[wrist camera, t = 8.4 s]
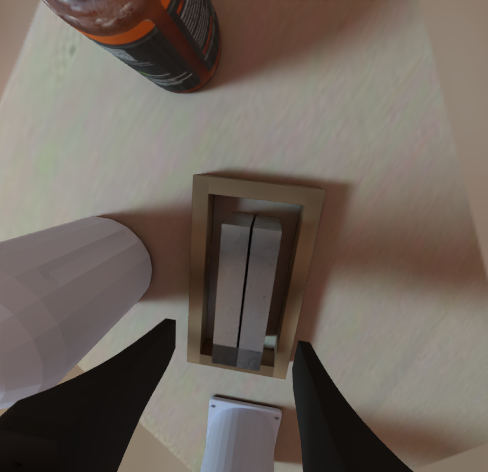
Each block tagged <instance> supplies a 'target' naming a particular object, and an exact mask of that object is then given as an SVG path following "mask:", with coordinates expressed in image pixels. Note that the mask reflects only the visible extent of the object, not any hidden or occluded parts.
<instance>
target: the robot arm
mask: <svg viewBox="0 0 488 472" xmlns="http://www.w3.org/2000/svg"><path fill="white" fill-rule="evenodd" d="M175 340H176V320H172V319H164V320H163V321H162V322H160V323H159V324H158V325H157V326H155V327H154V328H153V329H152V330H150V331H149V332H148V333H146V334H145V335H144V336H142V337H141V338H140V339H138V340H137V341H136V342H134V343H133V344H132V345H130V346H129V347H127V348H126V349H124V350H123V351H121V352H120V353H118V354H117V355H115V356H114V357H112V358H110V359H109V360H107V361H105V362H104V363H102V364H100V365H98V366H96V367H94V368H93V369H91V370H89V371H87V372H85V373H83V374H81V375H79V376H77V377H75V378H73V379H70V380H68V381H66V382H64V383H62V384H59V385H57V386H55V387H52V388H50V389H47V390H45V391H42V392H39V393H37V394H34V395H31V396H29V397H26V398H23V399H20V400H18V401H17V402H16V403H14V404H13V405H12V406H11V407H10V408H9V409H8V410H7V411H6V412H5V413H4V414H2V415H1V416H0V472H117V470H118V468H119V465H120V463H121V461H122V458H123V456H124V453H125V451H126V449H127V446H128V444H129V442H130V439H131V437H132V435H133V433H134V430H135V428H136V426H137V424H138V421H139V419H140V417H141V415H142V413H143V411H144V409H145V407H146V405H147V403H148V401H149V399H150V398H151V396H152V394H153V392H154V390H155V388H156V387H157V385H158V383H159V381H160V379H161V378H162V376H163V374H164V372H165V370H166V368H167V367H168V365H169V362H170V360H171V357H172V355H173V352H174V350H175ZM292 375H293V391H294V398H295V405H296V411H297V418H298V424H299V431H300V438H301V448H302V462H303V472H413V471H412V470H411V469H410V468H409V467H407V466H406V465H405V464H404V463H403V462H402V461H401V460H400V459H399V458H398V457H397V456H396V455H395V454H394V453H393V452H392V451H391V450H390V449H389V448H388V447H387V446H386V445H385V444H384V443H383V442H382V441H381V440H380V439H379V438H378V437H377V436H376V435H375V434H374V433H373V432H372V431H371V429H370V428H369V427H368V426H367V425H366V424H365V423H364V422H363V421H362V419H361V418H360V417H359V416H358V415H357V414H356V412H355V411H354V410H353V408H352V407H351V406H350V405H349V403H348V402H347V401H346V399H345V398H344V397H343V395H342V394H341V393H340V391H339V390H338V388H337V387H336V385H335V384H334V382H333V381H332V379H331V378H330V376H329V375H328V373H327V372H326V370H325V368H324V367H323V365H322V363H321V362H320V360H319V358H318V356H317V355H316V353H315V351H314V349H313V347H312V346H311V344H310V343H309V342H304V341H298V345H297V349H296V354H295V358H294V363H293V367H292ZM281 417H282V411H281V410H280V409H277V408H272V407H267V406H262V405H256V404H251V403H246V402H241V401H235V400H230V399H225V398H220V397H211V398H210V402H209V414H208V427H207V440H206V448H205V453H204V457H203V462H202V466H201V470H200V472H274V449H275V444H276V440H277V435H278V431H279V426H280V422H281Z"/></svg>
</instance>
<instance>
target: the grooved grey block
mask: <svg viewBox="0 0 488 472" xmlns="http://www.w3.org/2000/svg"><path fill="white" fill-rule="evenodd" d="M253 221H254V215H253V214H245V213H237V212H231V213H230V214H229V216H228V217H227V218H226V219H225V220H224V222H223V223H222V228H221V242H220V255H219V269H218V282H217V296H216V309H215V323H214V337H213V350H212V363H216V364H221V365H227V366H233V367H238V368H244V369H249V370H255V371H260V365H261V359H262V352H263V346H264V340H265V334H266V328H267V322H268V315H269V309H270V303H271V297H272V291H273V285H274V278H275V272H276V266H277V260H278V254H279V248H280V241H281V235H282V228H281V222H280V218H277V217H269V216H261V215H257V216H256V219H255V223H254V227H253ZM252 230H253V233H252ZM251 238H252V242H251ZM250 246H251V250H250ZM249 255H250V259H249ZM248 263H249V267H248ZM247 272H248V275H247ZM246 280H247V284H246ZM245 289H246V292H245ZM244 297H245V300H244ZM243 305H244V309H243ZM242 314H243V316H242Z"/></svg>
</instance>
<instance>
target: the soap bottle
mask: <svg viewBox="0 0 488 472" xmlns="http://www.w3.org/2000/svg"><path fill="white" fill-rule="evenodd" d="M151 275H152V266H151V260H150V255H149V253H148V251H147V250H146V248H145V246H144V244H143V242H142V241H141V239H140V238H138V237H137V236H136V235H135V234H134V233H133V232H132V231H131V230H130V229H129V228H128V227H126V226H124V225H122V224H120V223H118V222H116V221H114V220H112V219H107V218H100V217H94V216H93V217H89V218H84V219H80V220H76V221H73V222H69V223H66V224H62V225H59V226H55V227H52V228H48V229H45V230H41V231H38V232H34V233H31V234H27V235H24V236H20V237H17V238H13V239H10V240H6V241H3V242H0V409H3V408H10V407H11V406H12V405H13V404H14V403H16V402H17V401H18V400H20V399H23V398H26V397H29V396H31V395H34V394H37V393H39V392H42V391H45V390H47V389H50V388H52V387H54V386H56V385H57V384H58V383H59V382H60V381H61V380H62V379H63V378H64V377H65V376H66V375H67V373H68V372H69V371H70V370H71V369H72V368H73V367H74V366H75V365H76V364H77V363H78V362H79V361H80V360H81V359H82V358H83V357H84V356H85V355H86V354H87V353H88V352H89V351H90V350H91V349H92V348H93V347H94V346H95V345H96V344H97V343H98V342H99V341H100V340H101V339H102V338H103V336H104V335H105V334H106V333H107V332H108V331H109V330H110V329H111V328H112V327H113V326H114V325H115V324H116V323H117V322H118V321H119V320H120V319H121V318H122V317H123V316H124V315H125V314H126V313H127V312H128V311H129V310H130V309H131V308H132V307H133V306H134V305H135V304H136V303H137V302H138V301H139V299H140V298H141V297H142V296H143V295H144V293H145V292H146V290H147V289H148V288H149V286H150V281H151Z"/></svg>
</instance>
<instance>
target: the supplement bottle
mask: <svg viewBox="0 0 488 472" xmlns="http://www.w3.org/2000/svg"><path fill="white" fill-rule="evenodd" d="M43 2H44V3H45V4H46V5H47V6H48V7H49V8H50V9H51V10H52V11H53V12H54V13H56V14H57V15H58V16H59V17H60V18H62V19H63V20H64V21H65V22H67V23H68V24H70V25H71V26H72V27H74V28H75V29H77V30H78V31H80V32H81V33H83V34H84V35H85V36H86V37H88V38H89V39H91V40H92V41H94V42H95V43H96V44H98V45H99V46H101V47H102V48H104V49H105V50H107V51H108V52H109V53H111V54H112V55H114V56H116V57H117V58H119V59H120V60H121V61H123V62H124V63H126V64H127V65H128V66H130V67H132V68H133V69H134V70H136V71H137V72H139V73H140V74H141V75H143V76H145V77H146V78H148V79H149V80H151V81H152V82H153V83H155V84H156V85H158V86H160V87H162V88H163V89H165V90H167V91H170V92H174V93H190V92H193V91H195V90H197V89H199V88H201V87H202V86H203V85H204V84H205V83H206V82H207V81H208V80H209V79H210V78H211V76H212V75H213V74H214V72H215V70H216V68H217V65H218V62H219V58H220V54H221V31H220V27H219V23H218V19H217V16H216V13H215V10H214V8H213V5H212V3H211V0H43Z"/></svg>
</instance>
